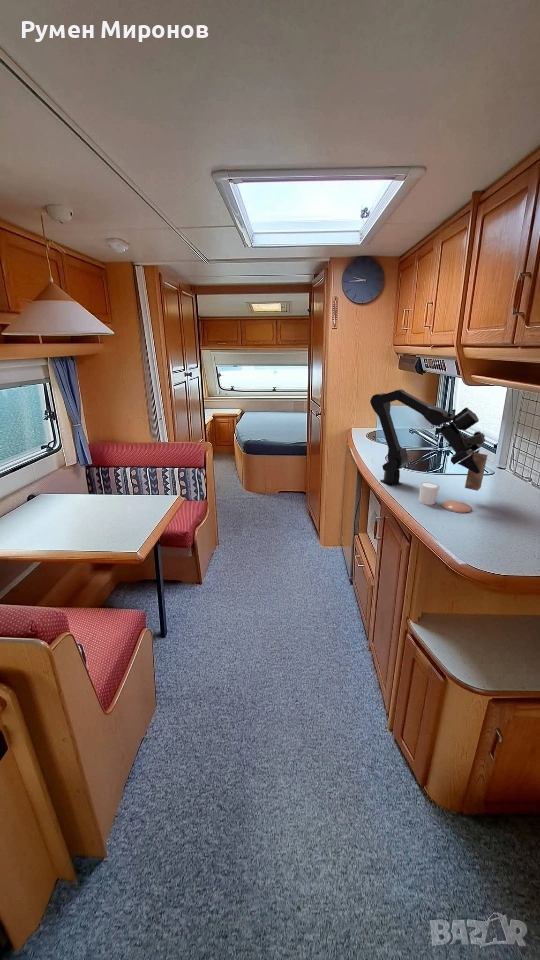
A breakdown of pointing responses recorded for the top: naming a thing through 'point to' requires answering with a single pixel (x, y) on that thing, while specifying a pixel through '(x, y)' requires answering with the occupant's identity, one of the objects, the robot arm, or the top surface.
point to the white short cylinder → (428, 493)
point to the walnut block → (473, 478)
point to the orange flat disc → (456, 506)
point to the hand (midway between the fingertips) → (480, 471)
